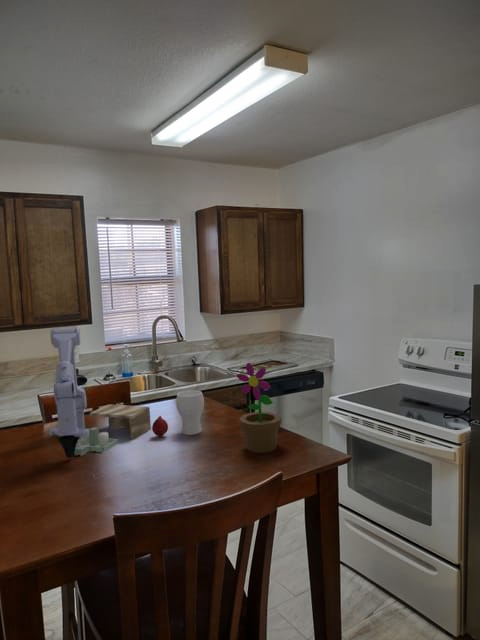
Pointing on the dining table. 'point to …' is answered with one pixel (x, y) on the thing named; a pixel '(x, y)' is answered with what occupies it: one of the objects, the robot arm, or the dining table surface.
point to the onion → (160, 427)
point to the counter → (127, 418)
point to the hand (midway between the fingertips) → (70, 456)
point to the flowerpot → (259, 416)
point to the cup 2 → (190, 410)
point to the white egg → (103, 439)
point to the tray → (102, 449)
